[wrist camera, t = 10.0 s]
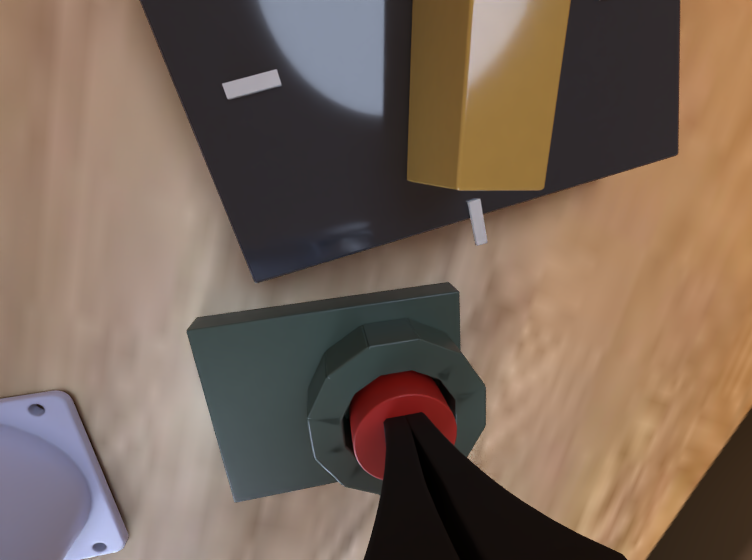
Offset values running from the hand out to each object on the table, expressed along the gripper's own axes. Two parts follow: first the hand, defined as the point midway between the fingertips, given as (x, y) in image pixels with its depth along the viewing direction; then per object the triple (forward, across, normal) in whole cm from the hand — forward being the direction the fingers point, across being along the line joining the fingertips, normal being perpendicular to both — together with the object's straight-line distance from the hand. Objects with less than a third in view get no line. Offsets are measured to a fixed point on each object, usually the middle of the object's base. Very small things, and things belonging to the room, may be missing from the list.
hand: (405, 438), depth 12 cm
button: (+2, 0, 0) cm, 2 cm away
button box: (+4, +2, 0) cm, 4 cm away
